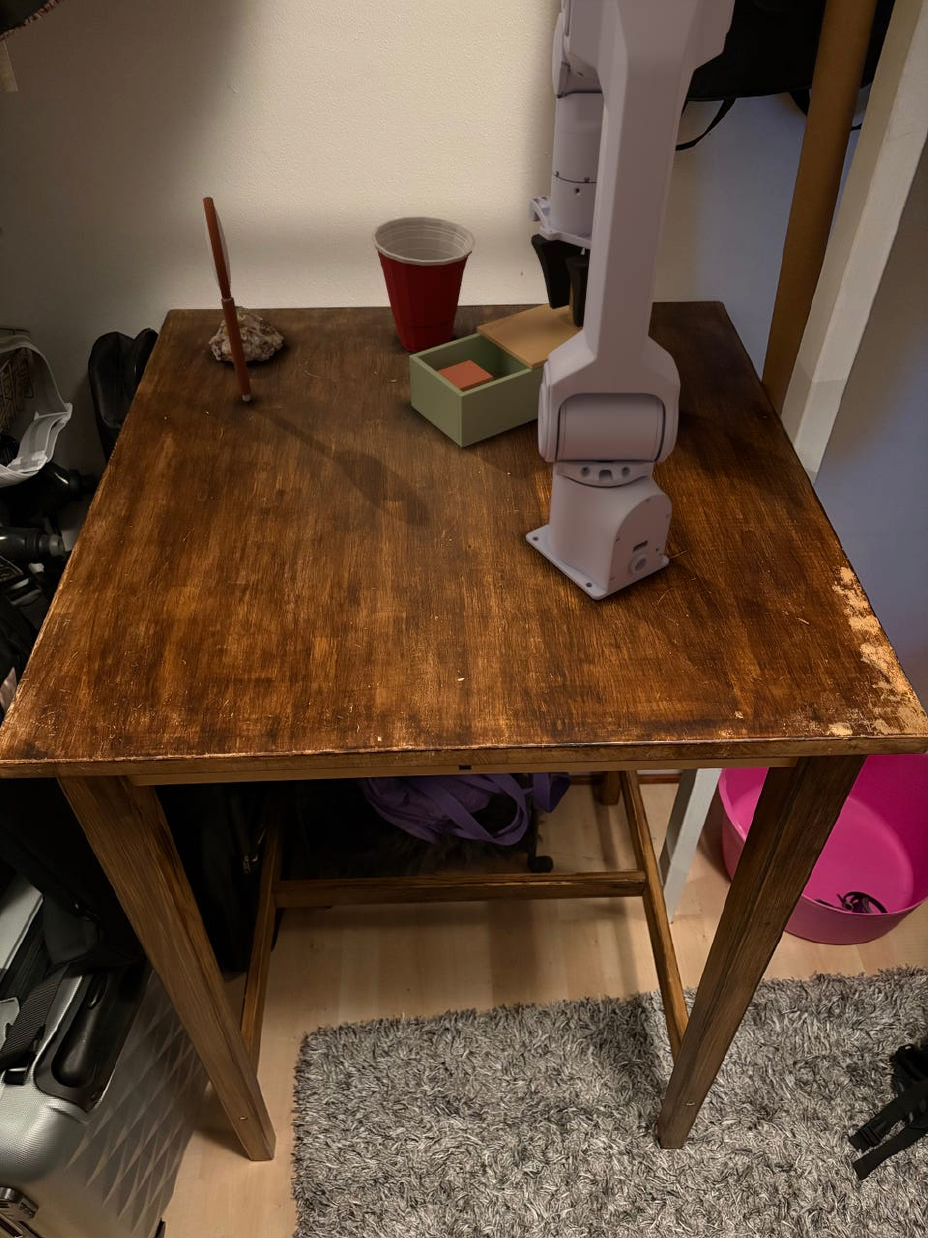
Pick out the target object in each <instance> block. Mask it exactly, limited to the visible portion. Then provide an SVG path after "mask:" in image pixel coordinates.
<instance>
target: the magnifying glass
mask: <svg viewBox="0 0 928 1238" xmlns="http://www.w3.org/2000/svg"><path fill="white" fill-rule="evenodd" d="M202 203H203V225H204V234H205V235H204V237H205V241H206V247H207V253H208V257H209V261H210V266H211V269H212V272H213V276H214V278H215V281H216V284H217V286H218V288H219V291H220V295H221V299H220V302H221V309H222V313H223V318H225V322H226V327H227V332H228V337H229V342H230V347H231V352H232V357H233V362H232V363H233V367H234V371H235V372H234V373H235V376H236V382H237V386H238V391H239V395H241V396H242V400H243V401H245V402H249V401H250V400H251V394H252V387H251V382H250V376H249V371H248V366H247V362H246V360H245V355H244V350H243V344H242V339H241V334H240V329H239V323H238V318H237V313H236V308H235V306H236V303H235V299H234V297H233V296H232V292H231V287H232V275H231V265H230V256H229V251H228V246H227V240H226V235H225V233H224V228H223V226H222V222H221V219H220V216H219V213H218V210H217V209H216V207H215V203H214V198H213V197H212V196H205V197H204V198H202Z"/></svg>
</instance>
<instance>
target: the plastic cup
mask: <svg viewBox="0 0 928 1238" xmlns="http://www.w3.org/2000/svg"><path fill="white" fill-rule="evenodd" d="M370 237H371V240H372V243H373V246H374V248H375V250H376V251H377V256H378V258H379V262H380V267H381V270H382V273H383V277H384V283H385V287H386V291H387V296H388V301H389V305H390V310H391V314H392V316H393V319H394V320H393V321H394V323H395V328H396V333H397V338H398V340H399V342H400V344H401V347H402V348H404V349H405V350H407V351H409V352H412V353H414V354H416V353H419V352H422V351H425V350H428V349H431V348H434V347H437V346H440V345H443V344H446V343H449V342H452V337H453V333H454V326H455V319H456V315H457V312H458V307H459V301H460V295H461V291H462V290H461V289H462V283H463V277H464V272H465V269H466V265H467V261H468V258H469V257H470V256H471V254H473V251H474V248H475V245H476V242H477V241H476V238H475V236H474V235H473V234H472V232H471V231H469V230H468V229H466V227H464V226H462V225H460V224H458V223H455V222H453V221H450V220H447V219H443V218H436V217H429V216H402V217H398V218H394V219H389V220H386V221H384V222H382V223H380V224H379V225H377V226H375V228H374V229H373V232H372V233H371V235H370Z"/></svg>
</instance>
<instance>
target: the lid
mask: <svg viewBox="0 0 928 1238" xmlns="http://www.w3.org/2000/svg"><path fill="white" fill-rule="evenodd" d="M582 329H583V326H582V327H577V326H576V325H574V321H573V291H572V283H571V288H570V301H569V305H568V306H564V307H560V308H557V309H552V308H551V307H550V305H549V302H548V303H545V304H542V305H539V306H535V307H532V308H530V309H527V310H523V311H521V312H518V313H514V314H511V315H508V316H505V317H502V318H499V319H496V320H493V321H490V322H488V323H483V324H481V325H477V326H476V333H480V334H481V335H482V336H484V337H485V338H487V339H488V340H490V341H491V342H493V343H494V344H496V345H497V346H498V347H500V348H501V349H503V350H504V351H506V352H507V353H509V354H510V355H512V356H513V357H514V358H516V359H517V360H519V361H520V362H522V363H523V364H525V365H526V366H528V367H529V368H530V369H535V368H538V367H540V366H543V365H544V364H545V363H546V362H547V360H548V355H549V354H550V353H551V352H552V351H553V350H555V349H556V348H558V347H559V346H560V345H562V344H563V343H565V342H566V341H568V340H569V339H571V338H572V337H574V336H575V335H576V334H578V333H579V332H580V331H581V330H582Z"/></svg>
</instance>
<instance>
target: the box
mask: <svg viewBox="0 0 928 1238" xmlns="http://www.w3.org/2000/svg"><path fill="white" fill-rule="evenodd" d="M468 360H471V361H472V362H474V363H475V364H476V365H478V366H479V367H480V368H482V369H483V370H485V371H486V372H487V373H489V374H490V375H492V376H493V382H490V383H487V384H484V385H482V386H479V387H476V388H473V389H470V390H468V391H465V392H462V391H461V390H460V389H458V388H457V387H456V386H454V385H453V384H452V383H451V382H449V381H448V380H447V379H445V378H444V377H443V376H441V375H440V374H439V373H438V372H437V371H440V370H442V369H445V368H448V367H451V366H454V365H457V364H460V363H463V362H465V361H468ZM408 364H409V384H410V385H409V386H410V403H411V404H410V405H411V407H412V408H413V409H415V410H416V411H417V412H418V413H419V414H421V415H422V416H423V417H424V418H425V419H426V420H428V421H429V422H430V423H432V424H433V425H434V426H435V427H436V428H437V429H439V430H440V431H441V432H442V433H443V434H445V435H446V436H447V437H448V438H450V439H451V440H452V441H453V442H454V443H456V444H457V445H458V446H459V447H460V448H462V449H463V448H465V447H468V446H471V445H473V444H475V443H478V442H480V441H483V440H485V439H488V438H491V437H494V436H496V435H498V434H501V433H503V432H506V431H508V430H509V431H510V430H511V429H514V428H517V427H518V426H522V425H524V424H526V423H529V422H531V421H534V420H536V419H537V420H538V412H539V394H540V387H541V384H542V382H543V372H544V365H543V366H540V367H538V368H535V369H530V368H529V367H528V366H526V365H525V364H523V363H522V362H520V361H519V360H517V359H516V358H514V357H513V356H512V355H510V354H509V353H507V352H506V351H504V350H503V349H501V348H500V347H498V346H497V345H496V344H494V343H493V342H491V341H490V340H488V339H487V338H485V337H484V336H482V335H481V334H480V333H478V332H476V333H473V334H470V335H467V336H464V337H461V338H459V339H455V340H451V341H450V342H449V343H446V344H443V345H440V346H437V347H434V348H431V349H428V350H425V351H422V352H419V353H414V354H411V355H409V356H408Z"/></svg>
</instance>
